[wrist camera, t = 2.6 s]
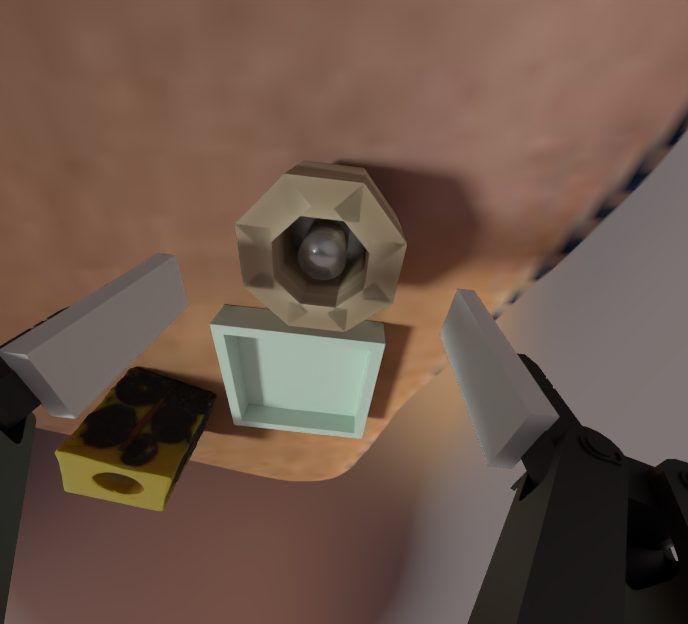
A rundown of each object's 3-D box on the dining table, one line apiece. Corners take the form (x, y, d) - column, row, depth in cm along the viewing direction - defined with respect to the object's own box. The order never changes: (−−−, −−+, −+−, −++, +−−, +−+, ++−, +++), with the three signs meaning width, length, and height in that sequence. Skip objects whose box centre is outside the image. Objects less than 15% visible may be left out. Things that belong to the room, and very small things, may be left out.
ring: (261, 155, 16) (227, 167, 12) (406, 172, 16) (420, 189, 12) (271, 306, 23) (251, 347, 19) (375, 318, 23) (378, 361, 19)
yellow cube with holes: (129, 409, 36) (61, 491, 28) (130, 363, 31) (47, 449, 23) (204, 431, 39) (162, 514, 31) (218, 392, 33) (171, 480, 25)
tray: (224, 304, 25) (209, 324, 23) (383, 322, 25) (385, 343, 23) (243, 402, 34) (234, 424, 32) (361, 416, 34) (361, 438, 32)
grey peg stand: (291, 178, 19) (266, 197, 14) (377, 188, 19) (382, 211, 14) (292, 258, 22) (273, 296, 17) (365, 266, 22) (366, 307, 17)
